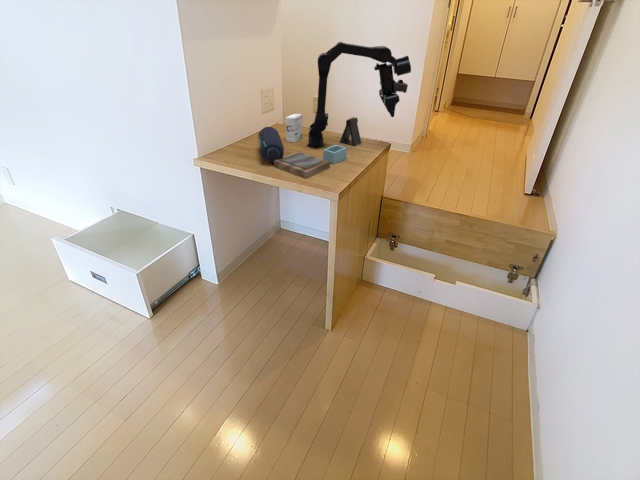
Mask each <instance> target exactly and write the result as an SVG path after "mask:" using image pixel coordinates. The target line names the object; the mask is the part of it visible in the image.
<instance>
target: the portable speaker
mask: <svg viewBox="0 0 640 480" xmlns="http://www.w3.org/2000/svg"><path fill="white" fill-rule="evenodd" d="M257 141H258V146H259V152H260V155H261V157H262V159H264V161H266V162H269V163H274V160H277V159H281V158H282V157H284V155H285V149H284V148H285V147H284V144H283V141H282V138H281V135H280V133H279V131H278V130H277V129H276V128H274V127H273V126H272V127H271V126H266V127H262V129H260V131H259V132H258V134H257Z"/></svg>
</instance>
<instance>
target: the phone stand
mask: <svg viewBox="0 0 640 480" xmlns="http://www.w3.org/2000/svg"><path fill="white" fill-rule="evenodd" d="M358 122H359V119H358V117H356V116H353V117H351V118H348V119H347V120H346V121H345V127H344V130H343V133H342V135H341V138H340V140H339V143H340V144H343V145H347V146H351V147H357V146H359V145H361V144H362V139H361V135H360V130H359V126H358Z"/></svg>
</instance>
